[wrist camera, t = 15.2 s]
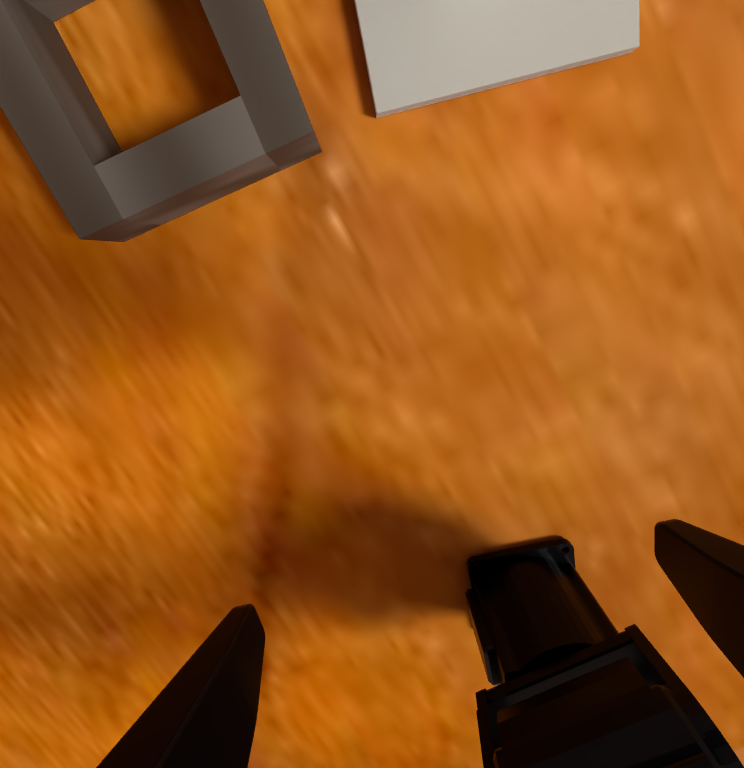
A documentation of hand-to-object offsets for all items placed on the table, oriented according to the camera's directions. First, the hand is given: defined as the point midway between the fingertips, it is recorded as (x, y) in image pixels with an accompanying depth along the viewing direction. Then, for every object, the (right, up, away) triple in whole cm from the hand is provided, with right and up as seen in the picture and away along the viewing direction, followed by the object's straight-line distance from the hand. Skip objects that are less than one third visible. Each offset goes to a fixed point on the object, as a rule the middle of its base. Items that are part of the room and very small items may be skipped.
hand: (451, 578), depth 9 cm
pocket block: (-11, +17, +8) cm, 22 cm away
